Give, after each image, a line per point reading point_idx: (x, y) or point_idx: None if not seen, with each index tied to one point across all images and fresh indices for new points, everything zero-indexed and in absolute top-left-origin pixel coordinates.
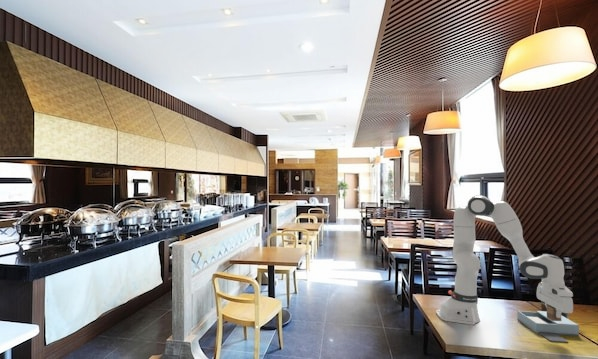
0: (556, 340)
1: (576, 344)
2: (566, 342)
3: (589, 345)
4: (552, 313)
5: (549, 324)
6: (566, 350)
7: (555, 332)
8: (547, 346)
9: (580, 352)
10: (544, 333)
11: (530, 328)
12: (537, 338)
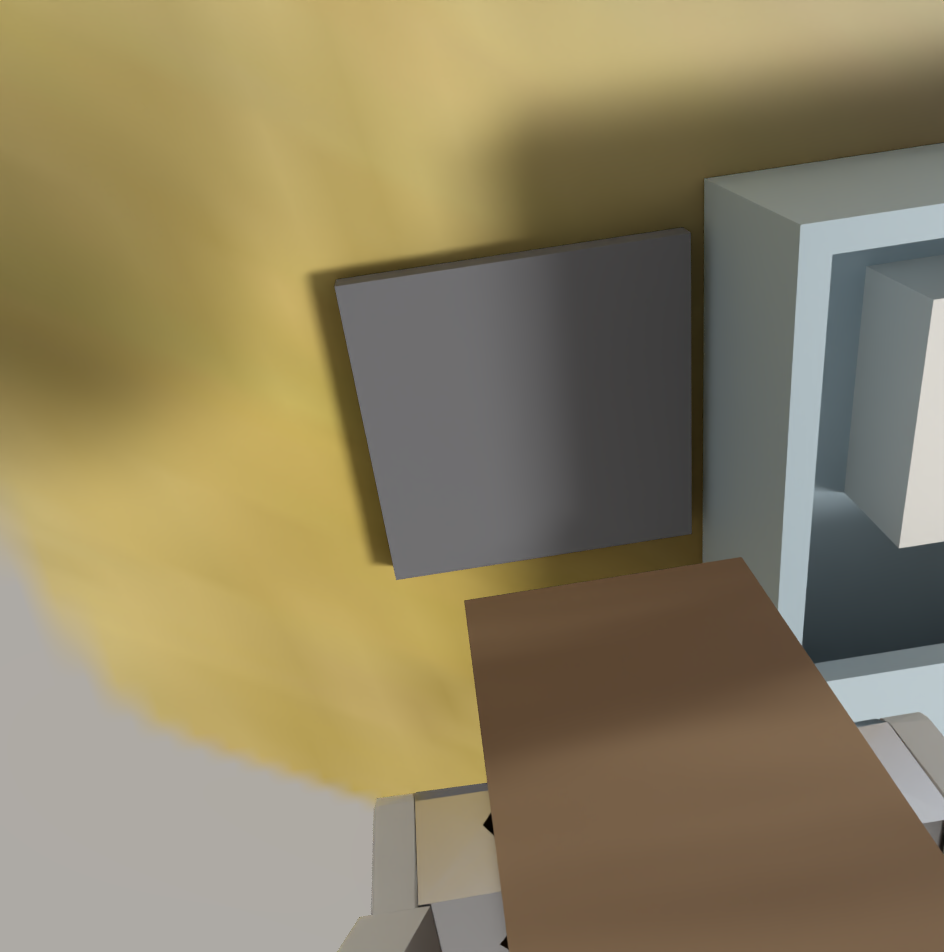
0: (375, 409)
1: (380, 655)
2: (389, 546)
3: (409, 789)
4: (492, 803)
5: (777, 529)
6: (28, 402)
7: (714, 541)
8: (33, 91)
9: (69, 585)
10: (661, 328)
11: (911, 148)
12: (413, 58)
